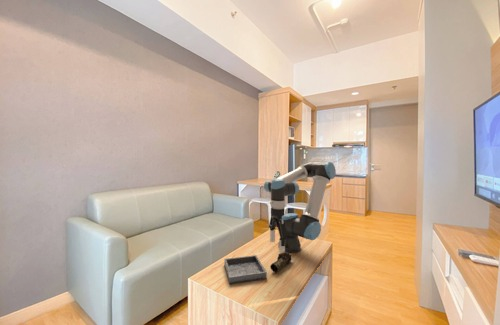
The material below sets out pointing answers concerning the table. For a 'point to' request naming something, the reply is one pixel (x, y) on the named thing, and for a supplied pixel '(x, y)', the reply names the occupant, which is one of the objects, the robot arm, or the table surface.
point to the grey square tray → (244, 269)
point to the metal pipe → (280, 262)
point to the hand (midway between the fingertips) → (277, 246)
